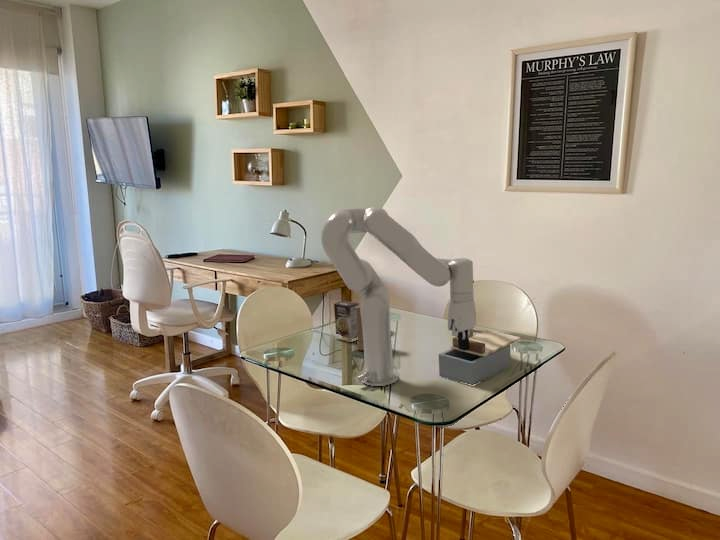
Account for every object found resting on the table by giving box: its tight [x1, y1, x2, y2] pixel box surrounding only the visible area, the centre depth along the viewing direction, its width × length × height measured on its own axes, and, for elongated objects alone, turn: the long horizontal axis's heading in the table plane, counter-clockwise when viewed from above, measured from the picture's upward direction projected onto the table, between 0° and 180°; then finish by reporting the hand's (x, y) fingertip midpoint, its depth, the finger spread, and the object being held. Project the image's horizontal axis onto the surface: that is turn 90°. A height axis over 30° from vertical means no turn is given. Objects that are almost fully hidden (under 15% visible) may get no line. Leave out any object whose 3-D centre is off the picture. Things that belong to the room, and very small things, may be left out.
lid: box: [450, 330, 521, 357], centre depth 190 cm, size 22×14×4 cm, turn 133°
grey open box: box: [438, 344, 512, 385], centre depth 187 cm, size 22×14×8 cm, turn 133°
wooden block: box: [356, 304, 364, 351], centre depth 215 cm, size 4×11×18 cm, turn 85°
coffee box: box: [333, 300, 360, 340], centre depth 230 cm, size 9×6×16 cm
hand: (463, 349), depth 181 cm, fingers closed
